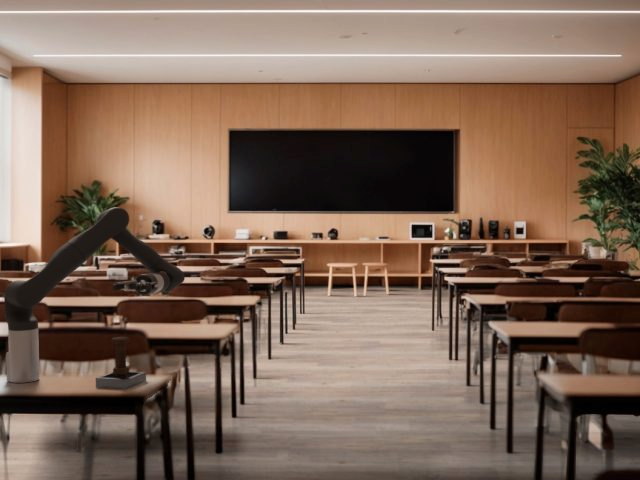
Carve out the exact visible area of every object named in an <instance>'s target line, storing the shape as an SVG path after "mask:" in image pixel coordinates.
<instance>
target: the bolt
mask: <svg viewBox="0 0 640 480" xmlns="http://www.w3.org/2000/svg"><path fill="white" fill-rule="evenodd" d="M110 340H111V341H110V343H111V344H114V346H115V367H114V368H112V372H113V373H114V374H116V378H121V379H126V374H127V373H128V372H129V371H130V367H128V366H127V351H126V350H127V344H128V343H131V339H130V337H128V336H117V337H115V336H114V337H112V339H110Z"/></svg>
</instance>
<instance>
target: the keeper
mask: <svg viewBox="0 0 640 480" xmlns="http://www.w3.org/2000/svg"><path fill="white" fill-rule="evenodd" d="M145 382H147V372H146V371H132V370H131V371H130V370H129V372H128V373H127V374H126V379H121V378H116V374H114V373H113V371H111V372H108V373H105V374H102V375H100V376H98V377H96V378H95V388H99V389H100V388H101V389H102V388H103V389H115V390H116V389H117V390H118V389H119V390H129V389H131V388H133V387H136V386H139V385H141V384H143V383H145Z"/></svg>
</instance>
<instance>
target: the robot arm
mask: <svg viewBox="0 0 640 480" xmlns="http://www.w3.org/2000/svg"><path fill="white" fill-rule="evenodd" d="M96 220H97V221H96V223H95V224H93V225H92V226H91V227H89V228H88V229H86V230H84V231H82V232H80V233H79V234H77V235H76V236H74V237H73V238H71V239H69V240H68V241H67V242H65V243H64V244H63V245H61V246H60V247H59V248H57V250H56V251H54V253H53V254H52V255H51V256H50V258H49V260H48V261H47V264H46V265H45V266H44V267H43V268H42V270H40V271H39V272H38V273H36V274H35V275H34V276H32V277H31V278H29V279H28V280H20V279H19V280H17V279H16V280H14V281H11V282H10V283H9V284H8V285H7V286H6V288H5V290H4V295H3V297H4V299H3V300H4V313H5V315H4V316H5V321H6V324H7V331H8V333H7V334H8V336H7V337H8V351H7V352H6V353H5V356H6V357H5V362H6V363H5V364H6V382H10V383H12V384H13V383H14V384H15V383H16V384H22V383H23V384H24V383H30V382H34V381H35V382H36V381H38V380H40V352H39V351H40V349H39V347H40V346H39V344H40V343H39V321H38V318H37V317H36V316H35V314H34V311H33V308H35V307H37V305H39V304H40V303H41V302H42V301H43V299H45V297H47V296H48V294H49V293H50V292H51V291H52V290H53V289H54V288H55V287H56V286H57V285H58V284H60V283H61V282H62V281H64V280H65V279H67V277H68V276H70V275H71V274H72V273H73V272H75V271H76V270H77V269H78V268H80V267H81V266H82V265H83V264H84V263H86V261H88V260H89V259H90V258H91V257H92V256H93V255H94V254H95V253H96V252H97V251H98V250H99V249H100V248H101V247H102V246H103V245H104V244H106V242H108V241H110V239H112V240H113V241H115V242H116V243H117V244H118V245H119V246H121V247H123V249H125V250H126V251H127V252H128V253H129V254H131V255H132V256H133V257H134V258H135V259H137V261H138V262H139V263H140V264H141V265H142V266H143V267H144V268H145V269H147V271H148V273H142V274H139V275H138V276H136V278H135V279H132V280H125V281H118V282H114V284H112V290H113V292H116V291H125V292H131V291H132V292H136V293H137V294H138V295H141V296H147V295H152V294H156V293H160V292H162V293H164V294H165V293H167V294H168V293H169V292H172V291H173V290H174V289H176V288H177V287H179V286H180V285H181V284H183V282H185V278H186V277H185V273H184V272H183V271H182V270H181V268H179V267H177V266H176V265H175V264H172V263H171V262H169V261H168V260H166V259H164V258H163V257H162V256H161V255H160V253H158V252H157V251H156V250H155V249H154V248H153V247H152V246H150V245H149V244H148V243H146V242H145V241H143V240H141V239H139V238H138V237H136V236H135V235H133V233H131V231H129V230H128V229H127V228H128V225H129V224H130V215H129V213H128V211H127V210H126V209H125V208H123V207H116V206H115V207H110V208H108V209H106V210H104V211H102V212H100V214H99V215H98V217H97V219H96Z"/></svg>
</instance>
